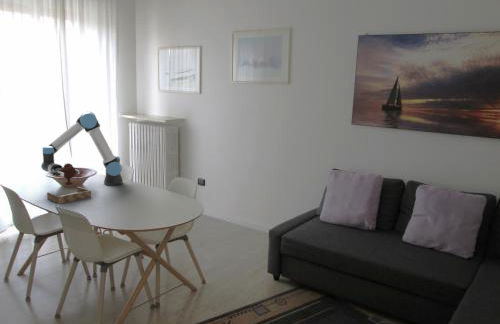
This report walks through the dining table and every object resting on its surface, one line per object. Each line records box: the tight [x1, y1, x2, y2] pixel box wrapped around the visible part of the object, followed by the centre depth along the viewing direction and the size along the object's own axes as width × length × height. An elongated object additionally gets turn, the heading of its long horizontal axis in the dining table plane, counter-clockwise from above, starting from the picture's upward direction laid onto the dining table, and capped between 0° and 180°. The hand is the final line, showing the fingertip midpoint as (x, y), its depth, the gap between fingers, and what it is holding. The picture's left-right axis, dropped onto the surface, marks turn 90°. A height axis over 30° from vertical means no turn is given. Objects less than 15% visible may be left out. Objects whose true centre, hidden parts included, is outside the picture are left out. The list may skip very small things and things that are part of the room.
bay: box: [46, 186, 92, 205], centre depth 299 cm, size 24×17×5 cm
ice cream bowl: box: [60, 162, 77, 186], centre depth 296 cm, size 11×11×15 cm
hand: (71, 173), depth 293 cm, fingers closed on ice cream bowl, 11 cm apart
